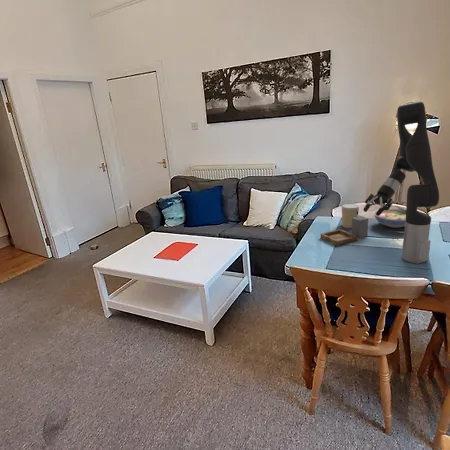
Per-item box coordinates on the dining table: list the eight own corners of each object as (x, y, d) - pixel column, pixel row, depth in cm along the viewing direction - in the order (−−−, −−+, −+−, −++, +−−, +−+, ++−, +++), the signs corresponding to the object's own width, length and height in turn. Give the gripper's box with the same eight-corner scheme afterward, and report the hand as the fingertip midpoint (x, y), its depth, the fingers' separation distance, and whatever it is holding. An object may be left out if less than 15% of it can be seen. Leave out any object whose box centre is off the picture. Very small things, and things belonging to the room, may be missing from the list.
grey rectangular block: (367, 236, 169) (368, 215, 165) (359, 238, 167) (360, 217, 163) (359, 233, 174) (360, 213, 170) (351, 235, 172) (352, 215, 168)
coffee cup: (360, 227, 181) (361, 207, 178) (343, 228, 182) (344, 208, 178) (354, 222, 190) (355, 203, 186) (338, 223, 191) (339, 204, 187)
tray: (357, 240, 165) (357, 236, 164) (337, 246, 160) (337, 241, 160) (339, 233, 176) (340, 229, 175) (320, 238, 172) (320, 233, 171)
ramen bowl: (364, 220, 193) (365, 207, 190) (404, 217, 191) (405, 204, 188) (382, 235, 169) (383, 220, 166) (427, 232, 167) (429, 217, 165)
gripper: (374, 182, 174) (356, 206, 174) (396, 186, 161) (377, 212, 161) (381, 190, 177) (364, 213, 177) (403, 195, 164) (384, 220, 164)
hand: (370, 213), depth 169 cm, fingers open, 8 cm apart
